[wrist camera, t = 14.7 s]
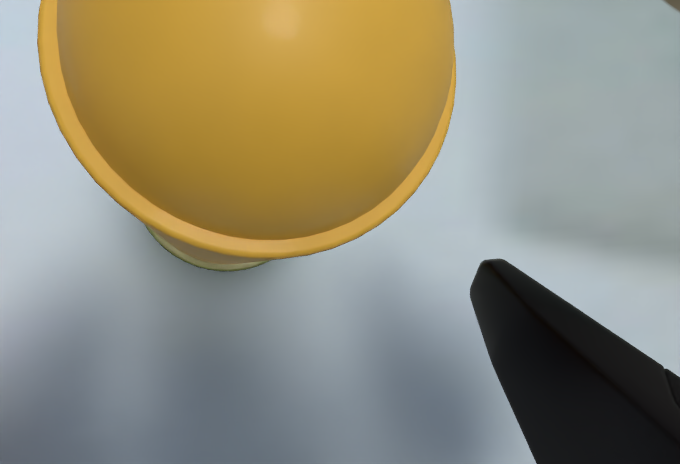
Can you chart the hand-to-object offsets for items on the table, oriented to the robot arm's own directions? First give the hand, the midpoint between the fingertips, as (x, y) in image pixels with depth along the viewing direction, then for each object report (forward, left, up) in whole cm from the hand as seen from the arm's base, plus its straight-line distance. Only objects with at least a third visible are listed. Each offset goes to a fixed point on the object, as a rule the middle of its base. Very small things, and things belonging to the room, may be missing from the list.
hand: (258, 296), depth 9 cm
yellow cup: (+3, -1, -8) cm, 9 cm away
